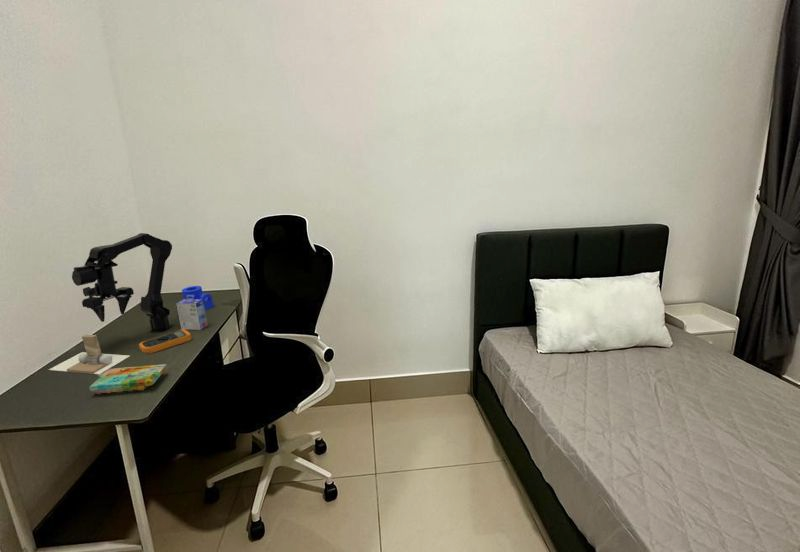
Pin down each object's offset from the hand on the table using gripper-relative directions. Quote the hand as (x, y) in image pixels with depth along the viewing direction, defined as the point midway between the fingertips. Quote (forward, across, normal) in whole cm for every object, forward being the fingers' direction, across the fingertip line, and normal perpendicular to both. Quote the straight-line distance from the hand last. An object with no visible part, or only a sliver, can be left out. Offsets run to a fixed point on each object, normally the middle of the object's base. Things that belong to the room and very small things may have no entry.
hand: (112, 317), depth 184 cm
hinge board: (+14, +14, +2) cm, 20 cm away
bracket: (+10, -48, +2) cm, 49 cm away
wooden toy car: (+13, +14, +5) cm, 19 cm away
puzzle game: (+14, +23, +30) cm, 40 cm away
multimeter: (+13, -5, +18) cm, 23 cm away
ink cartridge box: (+11, -22, +19) cm, 31 cm away
